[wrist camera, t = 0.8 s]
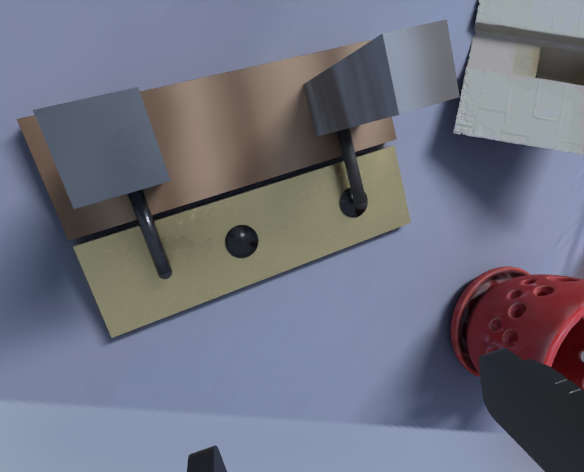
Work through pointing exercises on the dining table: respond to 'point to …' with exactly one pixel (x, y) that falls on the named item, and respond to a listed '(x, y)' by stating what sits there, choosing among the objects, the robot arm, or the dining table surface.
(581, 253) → the dining table surface
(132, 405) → the dining table surface
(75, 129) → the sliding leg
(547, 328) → the plant pot
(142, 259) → the bolt plate
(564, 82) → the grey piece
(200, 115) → the base
